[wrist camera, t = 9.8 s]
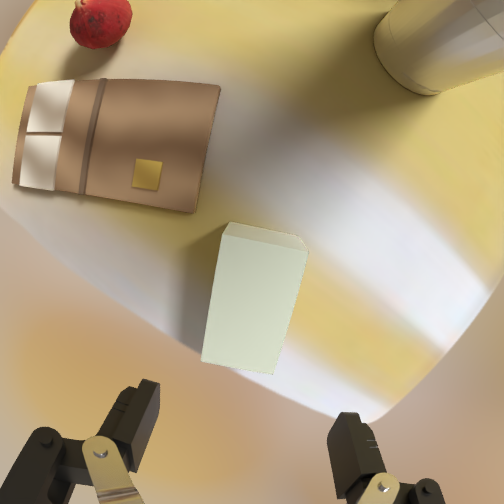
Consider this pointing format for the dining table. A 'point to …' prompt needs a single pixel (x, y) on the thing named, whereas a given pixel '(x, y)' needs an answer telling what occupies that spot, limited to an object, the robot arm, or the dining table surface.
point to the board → (117, 139)
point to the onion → (100, 22)
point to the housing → (252, 297)
